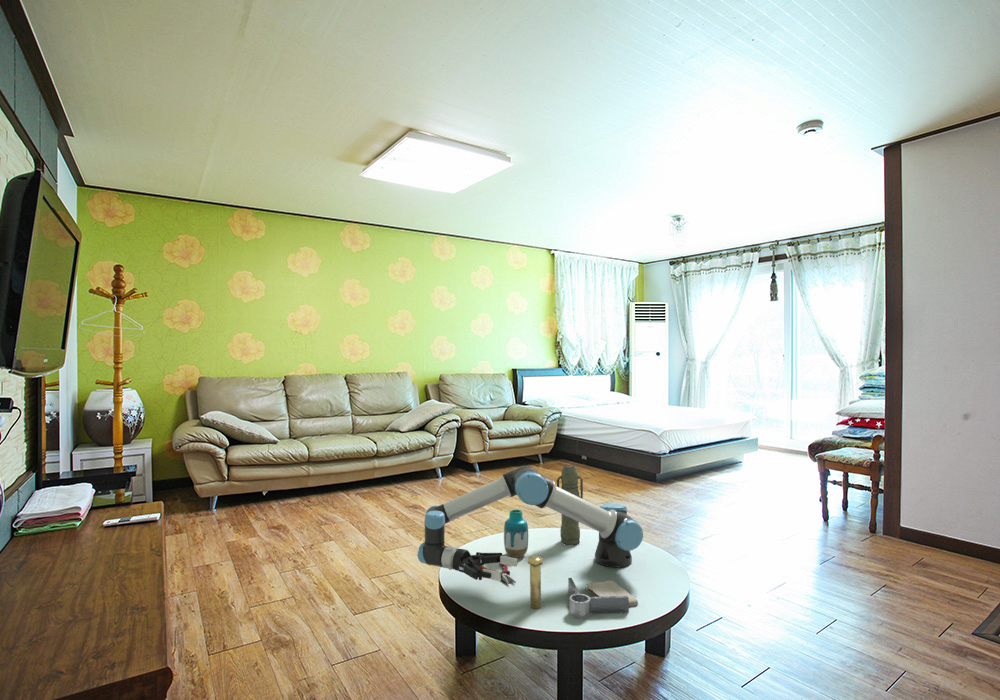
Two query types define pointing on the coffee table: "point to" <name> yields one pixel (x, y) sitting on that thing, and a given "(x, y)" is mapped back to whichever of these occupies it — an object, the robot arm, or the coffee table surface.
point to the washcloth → (609, 591)
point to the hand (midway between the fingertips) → (508, 569)
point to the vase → (516, 534)
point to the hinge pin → (535, 581)
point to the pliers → (503, 575)
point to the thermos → (570, 484)
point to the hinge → (594, 603)
